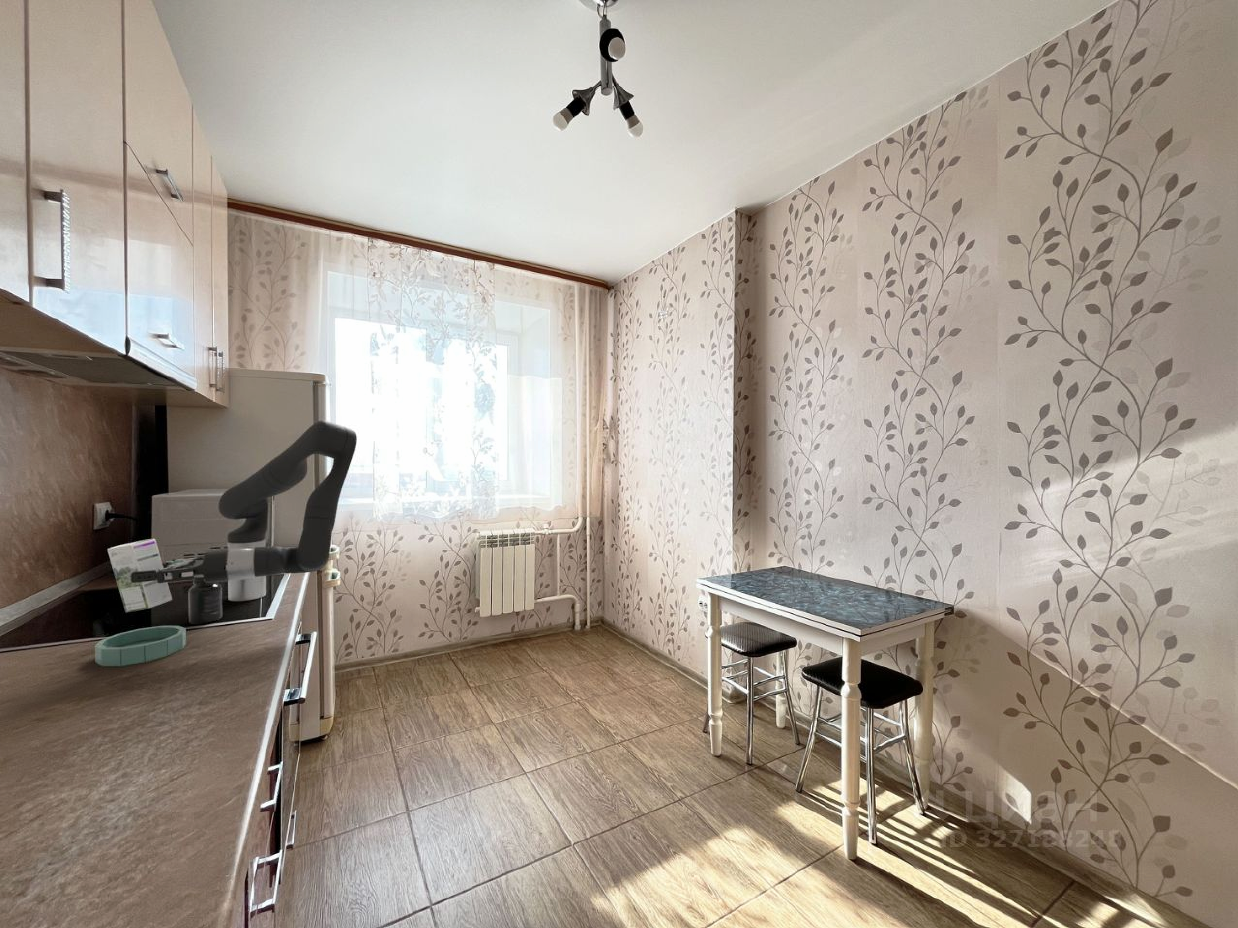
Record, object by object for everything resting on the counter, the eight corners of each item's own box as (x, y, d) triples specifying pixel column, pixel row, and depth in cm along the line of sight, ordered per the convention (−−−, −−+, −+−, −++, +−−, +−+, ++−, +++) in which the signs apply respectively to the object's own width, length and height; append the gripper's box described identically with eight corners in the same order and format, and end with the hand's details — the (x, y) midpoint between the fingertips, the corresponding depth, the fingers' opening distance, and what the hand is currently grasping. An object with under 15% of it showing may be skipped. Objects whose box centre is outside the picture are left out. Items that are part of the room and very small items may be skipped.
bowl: (109, 648, 112) (109, 632, 112) (190, 636, 120) (190, 621, 120) (85, 671, 100) (85, 654, 100) (177, 656, 108) (176, 640, 108)
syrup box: (173, 599, 113) (157, 537, 112) (148, 609, 107) (130, 543, 106) (150, 603, 113) (133, 541, 112) (123, 613, 107) (105, 548, 106)
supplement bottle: (182, 623, 129) (181, 576, 129) (210, 614, 136) (209, 570, 135) (201, 625, 127) (200, 578, 127) (229, 617, 134) (228, 572, 133)
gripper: (234, 543, 124) (145, 550, 115) (226, 553, 112) (126, 562, 103) (235, 573, 124) (146, 583, 115) (227, 587, 112) (127, 598, 103)
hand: (137, 573), depth 109 cm, fingers closed on syrup box, 8 cm apart
